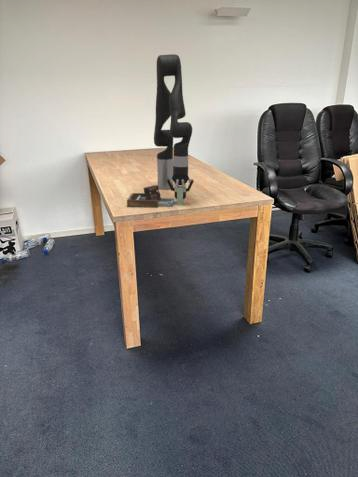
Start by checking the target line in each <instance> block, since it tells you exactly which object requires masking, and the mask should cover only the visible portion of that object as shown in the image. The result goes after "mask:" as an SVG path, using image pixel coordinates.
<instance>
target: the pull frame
mask: <svg viewBox="0 0 358 477" xmlns="http://www.w3.org/2000/svg"><path fill="white" fill-rule="evenodd" d="M136 200H146V198H145V197H141V196H138V198H137V199H136ZM174 205H176V206H183V205H184V199H183V186H182V185H178V187H177V199H176V200H175V197H161V200H158V207H173V206H174Z"/></svg>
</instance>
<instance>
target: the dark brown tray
mask: <svg viewBox="0 0 358 477" xmlns="http://www.w3.org/2000/svg"><path fill="white" fill-rule="evenodd" d="M161 195H162V194H161V193H160V197H161ZM138 196H141V197H145V193H144V192H132V193H131V194H130V195H129V196H128V198H127V199H126V207H127V208H156V209H157V208H159V206H158V203H159V201H158V200H136V199H137V198H138ZM161 198H162V197H161Z"/></svg>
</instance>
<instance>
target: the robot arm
mask: <svg viewBox="0 0 358 477" xmlns="http://www.w3.org/2000/svg"><path fill="white" fill-rule="evenodd" d="M182 73H183V72H182V63H181V58H180V56H179V55H178V54H174V53H173V54H159V55H158V56H157V59H156V97H155V98H156V99H155V124H154V132H153V133H154V134H153V143H154V145H155V147H159V148H160V147H161V148H162V147H166V148H165V149H164V150H162V151H160V152H158V153H157V154H156V162H157V163H156V164H157V165H156V167H157V168H156V170H157V185H158V187H159V190H170V191H173V192H174V199H175V200H177V187H178V186H183V200H185V199H186V198H187V192H190V189H191V188H192V187H193V184H194V181H195V180H194V179H193V178H192V179H191V178H190V176H189V146H190V141H191V138H192V134H193V127H192V123H190V122H188V121H187V122H186V121H183V122H182V121H181V122H180V121H179V120H180V119H184V118H185V116H186V114H187V112H186V108H185V103H184V102H185V101H184V96H183V95H184V94H183V77H182V76H183V75H182ZM165 77H174V84H173V88H172V89H171V91H170V89H169V87H168V86H167V85H166V82H165ZM169 119H170V125H169V129H163V127H164V125H165V123H166V122H167V121H168V120H169ZM174 139H181V140H180V141H179V142H175V143H174ZM186 183H189V184H188V187H186ZM174 184H175V185H174ZM174 186H175V187H174Z"/></svg>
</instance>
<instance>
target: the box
mask: <svg viewBox="0 0 358 477" xmlns="http://www.w3.org/2000/svg"><path fill="white" fill-rule="evenodd" d="M143 193H145V198H146V200H161V198H162V197H160V194H161V192H160V189H159V187H158V184H157V185H155V184H154V185H148V186H145V187H143Z"/></svg>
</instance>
